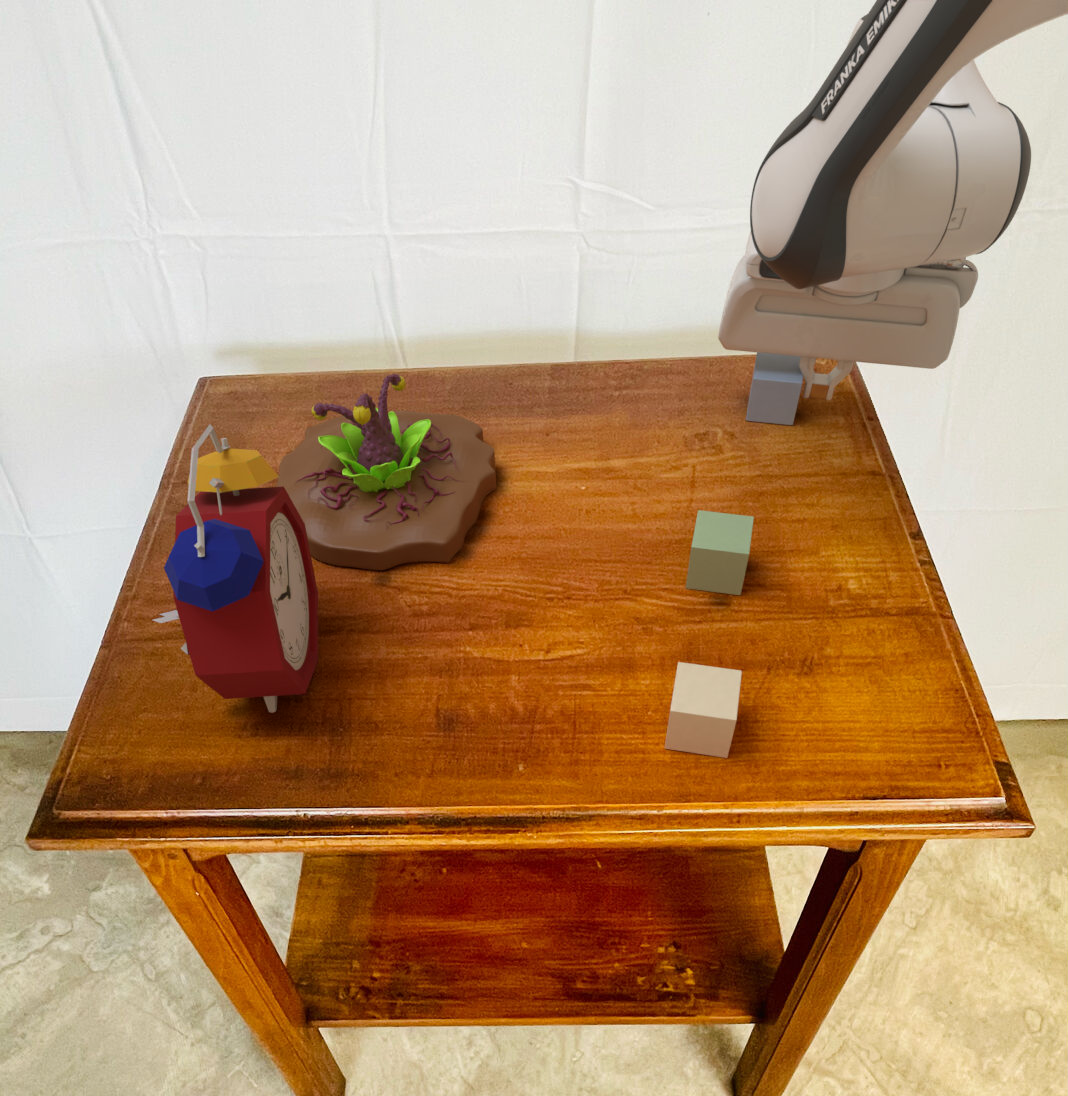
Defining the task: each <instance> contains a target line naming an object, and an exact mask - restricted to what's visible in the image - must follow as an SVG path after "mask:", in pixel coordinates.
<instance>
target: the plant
mask: <svg viewBox="0 0 1068 1096" xmlns="http://www.w3.org/2000/svg"><path fill="white" fill-rule="evenodd" d="M382 382H383V383H382V384H381V386H380V388H381V389H380V390H379V393H380V394H379V396H378V403H377V406H376V403H375V402H374V401H373V397H372V396H371V395H369V394H368V393H367V392H365V393H362V394H360V395H359V397H358V398H357V400H356V403H354V404H355V405H354V406H353V410H351V409H349V408H347V407H346V406H342V405H340V404H334V403H330V404H329V403H323V402H317V403H315V404H314V405H313V406H312V407H311V415H312V416H313V417H314V419H316V420H317V421H323V420H325V419H326V418H327V416H328V412H334V413H336V414H338V415H341V416H338V417H333V418H331V419H328V420H326V421H324V422H322V423H318V424H316V425H315V424H314V425H312V426H308V427H307V428H305V430H304V439H303V440H302V442H301V443H300V444H299V445H298V446H296V448H294V449H292V451H290V452H288V453H286V454H285V455H284V456H283V457H282V458H281V461H280V463H279V469H278V476H279V477H277V482H276V486H275V487H282V486H284V488H285V490H286V491H287V493H288V495H289V497H290V498H291V500H292V502H293V504H294V506H295V507H296V509H297V511H298V513H299V515H300V516H301V518H302V520H303V522H304V524H305V528H306V533H307V538H308V544H309V549H310V554H311V557H312V558H313V559H316V560H317V561H320V562H323V563H325V564H329V565H331V566H332V565H333V566H335V567H336V566H337V567H346V568H357V569H362V570H363V569H364V570H371V571H385V570H389V569H391V568H394V567H396V566H399V565H403V564H408V563H446V564H448V563H450V562H451V560H452V559H453V557H454V556H455V555H456V554H457V553H458V552H460V551H461V550H462V547H463V546H464V541H465V539H466V536H467V533H468V532H469V530H470V529H472V527H473V526H474V525H475V524H476V522H477V520H478V517H479V515H480V510H481V507H482V503H483V501H484V499H485V498H486V497H487V495H488V496H489V494H490V493H491V492H494V491H495V490H496V489H497V478H496V477H497V476H496V475H497V474H496V454H495V453H496V452H495V449H494V447H493V446H491V445H490V444H488V443H486V442H485V440H484V430H483V428H482V427H481V426H480V425H478V424H477V423H475V422H474V421H472V420H470V419H468V418H466V417H463V416H460V415H456V414H445V413H429V412H420V411H410V410H388V395H389V394H388V392H389V386H390V385H391V388H392V389H393V390H395V391H397V392H402V391H404V390H405V389H406V386H407V383H406V379H405V378H404V376H400V374H398V373H393V374H389V375H386V377H384V379H383V380H382ZM377 407H378V408H377Z"/></svg>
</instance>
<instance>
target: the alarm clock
mask: <svg viewBox="0 0 1068 1096" xmlns="http://www.w3.org/2000/svg"><path fill="white" fill-rule="evenodd" d="M208 436H209V437H210V440H211V442H212V444H213V446H214V449H215V451H213V452H210V453H207V454H205V455H203V456H200V457H199V449H200V447H201V446H202V445H203V443H204V442H205V440H207V438H208ZM220 442H221V443H220ZM189 463H190V464H189V476H188V478H187V482H186V483H187V485H188V488H187V501H186V502H187V504H186V506H184V507H183V508H182V509H181V510H180V511H179V512H178V513H177V515H175V531H174V532H173V533H172V534H173V535H174V544H173V547H172V549H171V551H170V553H169V555H168V557H167V560H166V562H165V564H164V565H163V569H164V571H165V574H166V576H167V579H168V581H169V583H170V586H171V588H172V590H173V591H172V592H173V594H172V597H173V600H174V604H175V608H176V609H174V610H171V611H167V612H163V613H159V614H158V615H159V616H161V617H158V618H154V619H152V621H153V622H156V623H159V624H163V623H167V622H170V621H175V620H179V622H180V626H181V629H182V633H183V637H184V639H185V643H184V644H183V645H182V646H181V648H180V650H181V651H183V652H184V654H186V655H187V656H189V658H190V660H191V661H190V662H191V664H192V668H193V671H194V675H195V676H196V677H197V678H198V679H199V680H201V681H202V682H203V683H204V684H206V685H207V686H208V687H209V688H210V689H212V690H213V691H214V692H215V693H217V694H218V695H219V696H220V697H221V698H223V699H224V700H229V699H231V700H232V699H247V698H263V700H264V703H265V705H266V708H267V711H268V713H271V714H272V713H275V712H277V711H278V696H279V697H280V696H282V697H283V696H295V695H297V696H298V695H306V693H307V690H308V688H309V685H310V682H311V680H312V677H313V675H314V672H315V670H316V667H317V665H318V662H319V592H318V586H317V580H316V576H315V571H314V567H313V560H312V555H311V554H310V549H309V544H308V538H307V533H306V528H305V524H304V522H303V520H302V518H301V516H300V515H299V513H298V511H297V509H296V507H295V506H294V504H293V502H292V500H291V498H290V497H289V495H288V493H287V491H286V490H285V488H284V486H282V487H276V486H270V487H269V486H267V487H266V486H265V487H261V486H263V485H265V484H267V483H269V482H271V481H273V480H275V479H278V477H279V474H278V473H277V472H276V471H275V470H274V468H272V467H271V465H270V464H269V462H268V461H267V460H266V459H265V457H263V456H262V455H261V453H260V452H259V451H258V450H257V449H247V448H246V449H245V448H232V447H231V445H229V441H228V438H227V437H222V438H220V440H219V438H218V435H217V432H216V430H215V428H214V427H213V425H211V423H210V424H208V426H207V427H206V429H205V430H203V433H202V434H201V435H200V436H199V438H198V439H197V441H196V442H195V443H194V445H193V446H192V448H191V453H190V462H189ZM196 492H198V493H197V494H196Z"/></svg>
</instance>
